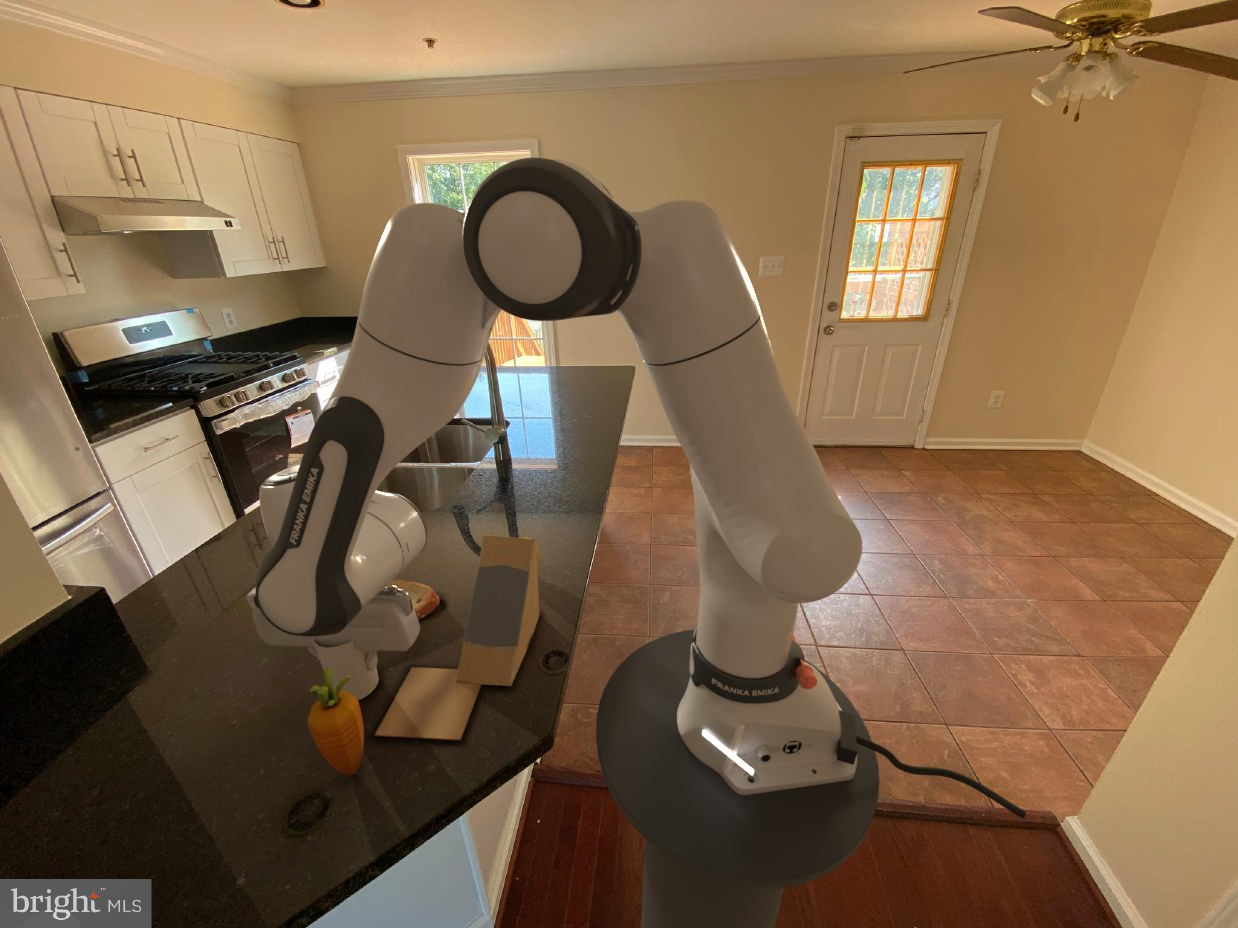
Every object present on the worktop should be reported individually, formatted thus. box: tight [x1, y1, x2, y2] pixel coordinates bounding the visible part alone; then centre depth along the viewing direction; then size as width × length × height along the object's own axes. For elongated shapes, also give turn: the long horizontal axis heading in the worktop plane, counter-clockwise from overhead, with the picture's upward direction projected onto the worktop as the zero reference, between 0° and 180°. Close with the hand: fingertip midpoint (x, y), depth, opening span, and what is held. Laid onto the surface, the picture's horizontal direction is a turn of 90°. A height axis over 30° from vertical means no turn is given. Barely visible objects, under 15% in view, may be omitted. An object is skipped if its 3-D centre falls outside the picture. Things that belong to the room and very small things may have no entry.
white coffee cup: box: [312, 639, 380, 701], centre depth 68 cm, size 7×7×10 cm
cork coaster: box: [374, 666, 483, 741], centre depth 67 cm, size 11×11×1 cm
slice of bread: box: [387, 579, 440, 621], centre depth 84 cm, size 18×18×4 cm
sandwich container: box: [456, 534, 540, 687], centre depth 74 cm, size 9×15×15 cm, turn 173°
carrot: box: [307, 667, 365, 777], centre depth 55 cm, size 5×5×15 cm
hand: (351, 666), depth 68 cm, fingers open, 4 cm apart
